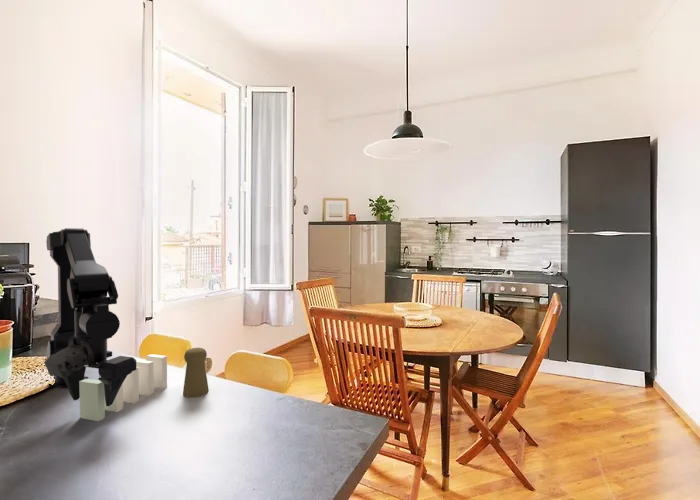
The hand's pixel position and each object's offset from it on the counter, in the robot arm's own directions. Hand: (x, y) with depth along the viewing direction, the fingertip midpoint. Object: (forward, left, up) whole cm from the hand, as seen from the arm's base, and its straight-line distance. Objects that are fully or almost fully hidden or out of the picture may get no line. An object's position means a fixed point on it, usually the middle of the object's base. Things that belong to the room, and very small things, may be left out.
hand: (92, 402), depth 83 cm
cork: (+12, +18, -4) cm, 22 cm away
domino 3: (0, +13, -3) cm, 14 cm away
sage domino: (0, 0, -3) cm, 3 cm away
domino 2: (0, +9, -3) cm, 10 cm away
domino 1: (0, +4, -3) cm, 6 cm away
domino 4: (0, +18, -3) cm, 18 cm away
